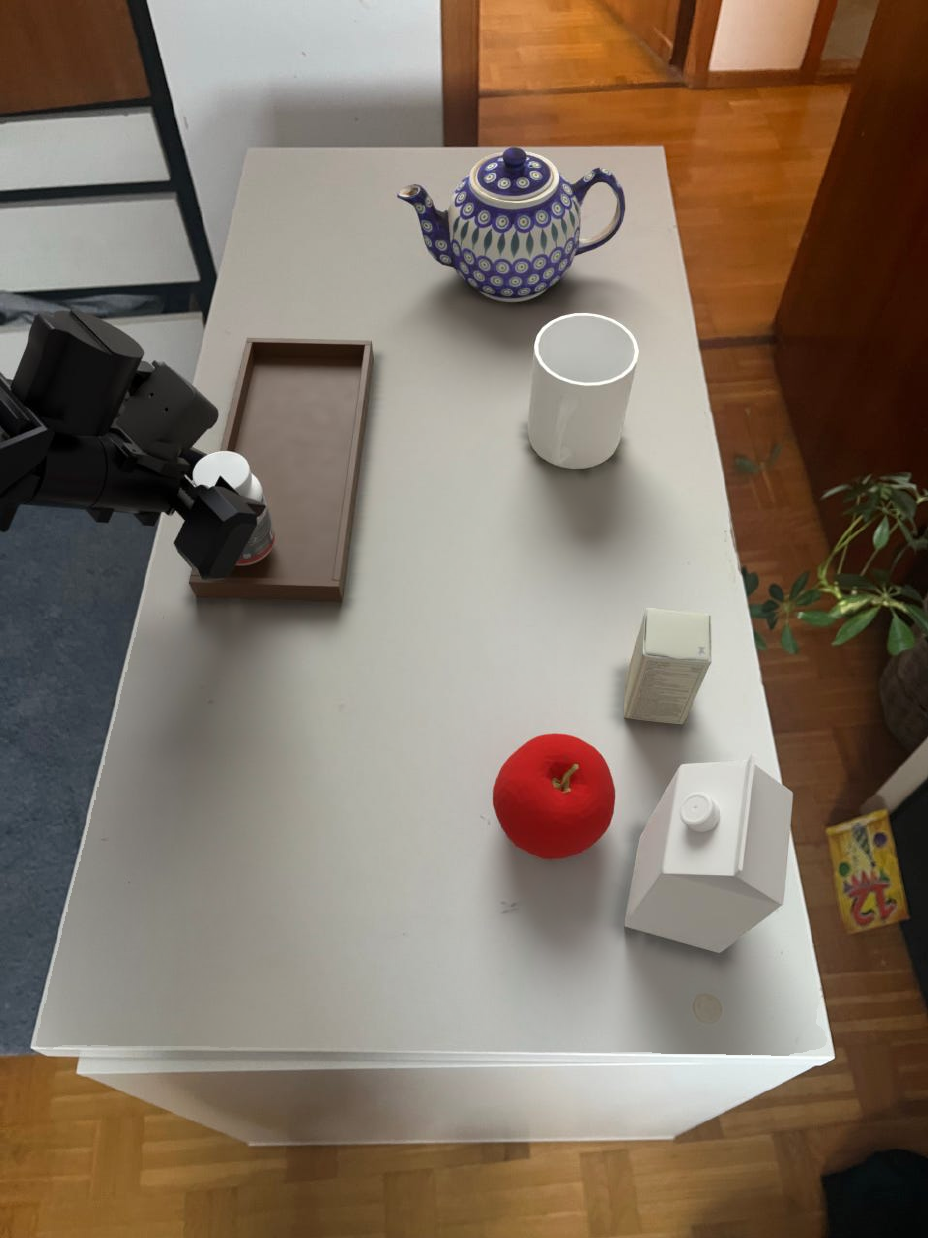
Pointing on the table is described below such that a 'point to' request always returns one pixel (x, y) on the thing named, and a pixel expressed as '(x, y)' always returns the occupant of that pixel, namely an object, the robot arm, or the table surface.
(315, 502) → the tray
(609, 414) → the mug
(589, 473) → the table surface
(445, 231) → the teapot
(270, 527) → the pill bottle
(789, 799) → the milk carton
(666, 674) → the box
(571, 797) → the fruit
